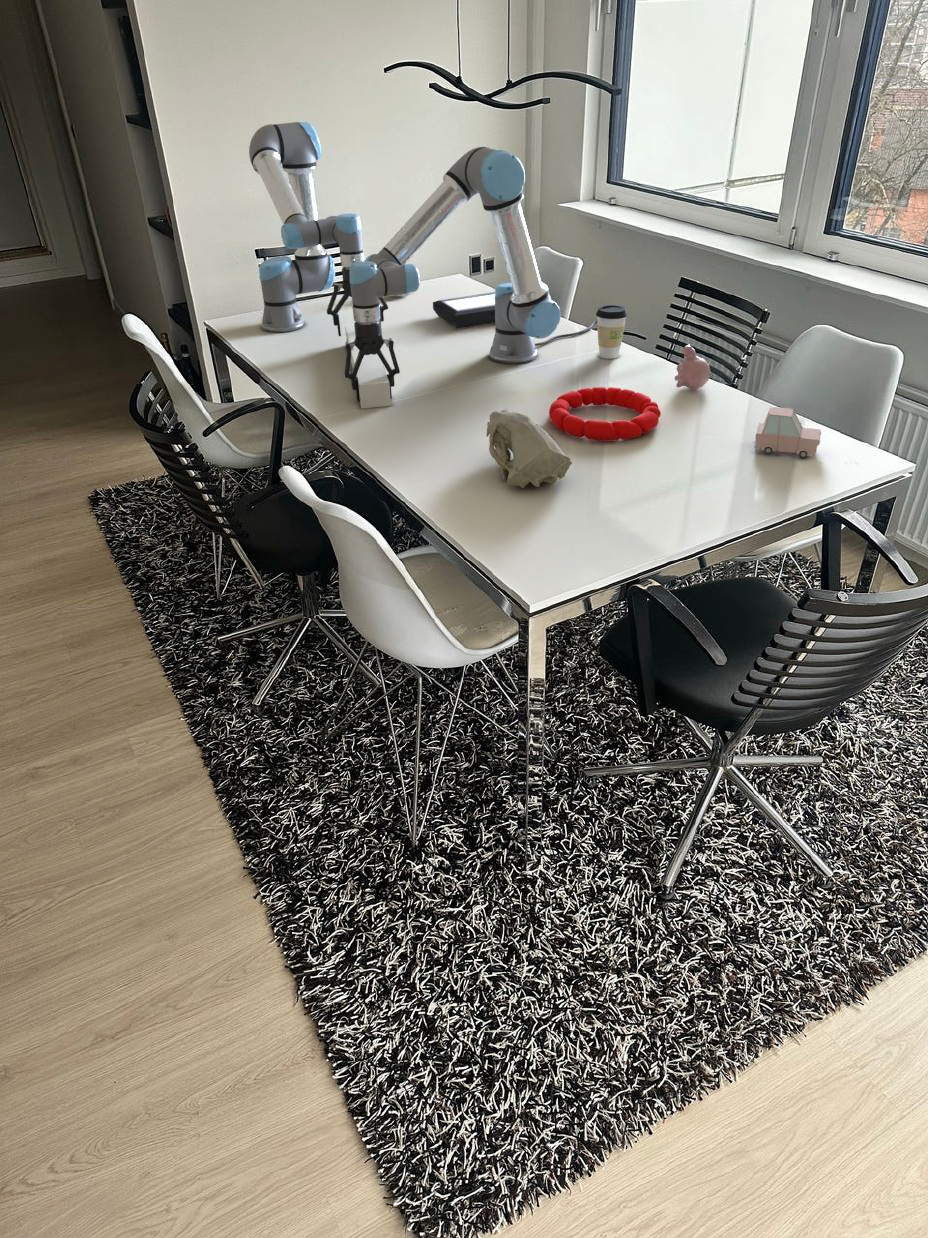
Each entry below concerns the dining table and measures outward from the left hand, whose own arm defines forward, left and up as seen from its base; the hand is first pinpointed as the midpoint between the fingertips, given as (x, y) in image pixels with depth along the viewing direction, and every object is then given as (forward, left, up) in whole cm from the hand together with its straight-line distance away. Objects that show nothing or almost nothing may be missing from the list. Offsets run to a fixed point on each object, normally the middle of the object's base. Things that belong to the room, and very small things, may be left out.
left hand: (360, 333), depth 298 cm
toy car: (+110, +98, -6) cm, 147 cm away
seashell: (-63, +21, -6) cm, 67 cm away
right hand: (+48, 0, -5) cm, 48 cm away
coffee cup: (+28, +78, -6) cm, 83 cm away
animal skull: (+105, +31, -6) cm, 110 cm away
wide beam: (+24, 0, -6) cm, 24 cm away
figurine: (+63, +92, -6) cm, 111 cm away
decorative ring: (+81, +60, -6) cm, 100 cm away
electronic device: (-25, +47, -6) cm, 54 cm away
